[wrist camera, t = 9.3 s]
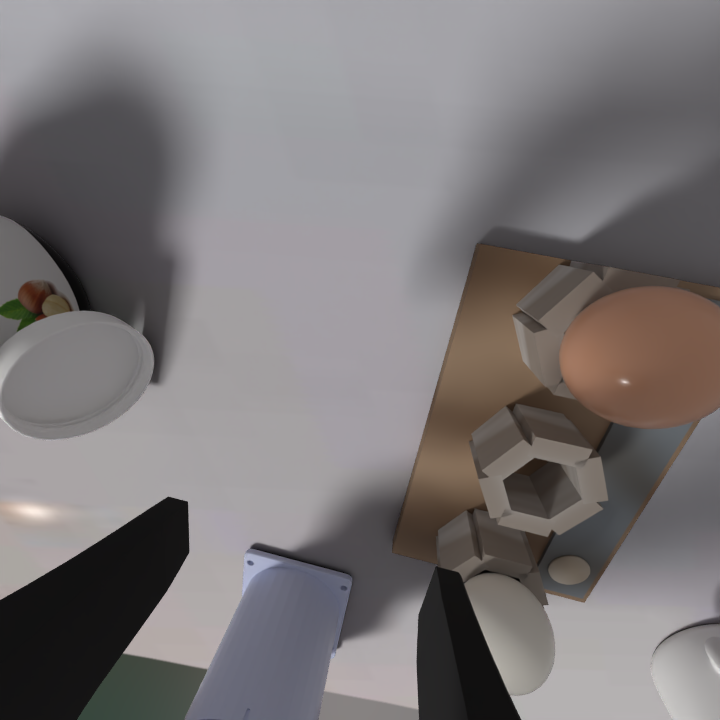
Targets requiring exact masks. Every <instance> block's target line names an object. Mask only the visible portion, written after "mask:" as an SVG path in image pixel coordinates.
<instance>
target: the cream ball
mask: <svg viewBox="0 0 720 720" xmlns="http://www.w3.org/2000/svg"><path fill="white" fill-rule="evenodd" d="M464 585H465V588H466V591H467V593H468V596H469V599H470V602H471V604H472V607H473V609H474V612H475V615H476V617H477V620H478V622H479V625H480V627H481V630H482V632H483V635H484V637H485V640H486V642H487V645H488V647H489V649H490V652H491V654H492V656H493V659H494V661H495V663H496V666H497V668H498V670H499V672H500V675H501V677H502V679H503V682H504V684H505V686H506V688H507V691H508V693H509V695H513V696H518V695H525V694H529V693H531V692H533V691H535V690H536V689H538V688H539V687H540V686H542V684H543V683H544V682H545V681H546V680H547V678H548V676H549V674H550V672H551V670H552V667H553V664H554V658H555V640H554V634H553V629H552V626H551V623H550V620H549V618H548V616H547V613H546V612H545V610H544V608H543V606H542V605H541V603H540V602H539V601H538V599H537V598H536V597H535V596H534V594H533V593H532V592H531V591H530V590H529V589H528V588H526V587H525V586H524V585H523V584H521V583H520V582H519V581H517V580H515V579H513V578H511V577H509V576H506V575H503V574H499V573H482V574H479V575H476V576H474V577H472V578H470V579H469V580H468V581H467V582H465V583H464Z"/></svg>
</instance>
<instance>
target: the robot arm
mask: <svg viewBox="0 0 720 720" xmlns="http://www.w3.org/2000/svg"><path fill="white" fill-rule="evenodd" d="M188 554H189V522H188V502H187V501H183V500H179V499H175V498H171V497H167V498H165V499H164V500H162V501H161V502H159V503H158V504H156V505H154V506H153V507H151V508H150V509H148V510H147V511H145V512H144V513H142V514H141V515H139V516H138V517H136V518H135V519H133V520H131V521H130V522H128V523H127V524H125V525H124V526H122V527H121V528H119V529H118V530H116V531H115V532H113V533H111V534H110V535H108V536H107V537H105V538H104V539H102V540H100V541H99V542H97V543H96V544H94V545H92V546H91V547H89V548H88V549H86V550H85V551H83V552H81V553H80V554H78V555H77V556H75V557H73V558H72V559H70V560H68V561H67V562H65V563H63V564H62V565H60V566H58V567H57V568H55V569H53V570H52V571H50V572H48V573H46V574H45V575H43V576H41V577H40V578H38V579H36V580H35V581H33V582H31V583H30V584H28V585H26V586H24V587H23V588H21V589H19V590H17V591H16V592H14V593H12V594H10V595H8V596H7V597H5V598H3V599H1V600H0V720H77V719H78V717H79V715H80V714H81V712H82V711H83V709H84V707H85V706H86V705H87V703H88V702H89V700H90V699H91V697H92V696H93V694H94V693H95V691H96V689H97V688H98V687H99V685H100V684H101V683H102V681H103V680H104V678H105V677H106V676H107V674H108V673H109V672H110V670H111V669H112V667H113V666H114V664H115V663H116V662H117V660H118V659H119V658H120V656H121V655H122V653H123V652H124V651H125V649H126V648H127V646H128V645H129V644H130V642H131V641H132V639H133V638H134V637H135V635H136V634H137V633H138V631H139V630H140V628H141V627H142V626H143V624H144V623H145V621H146V620H147V619H148V617H149V616H150V614H151V613H152V611H153V610H154V609H155V607H156V606H157V604H158V603H159V602H160V600H161V599H162V597H163V596H164V594H165V593H166V592H167V590H168V588H169V587H170V585H171V583H172V582H173V580H174V578H175V577H176V575H177V573H178V571H179V570H180V568H181V566H182V564H183V562H184V561H185V559H186V557H187V555H188ZM351 586H352V577H351V576H350V575H348V574H345V573H341V572H338V571H334V570H330V569H326V568H323V567H319V566H315V565H311V564H308V563H304V562H300V561H296V560H293V559H289V558H285V557H281V556H278V555H274V554H270V553H266V552H263V551H259V550H255V549H248V550H247V551H246V553H245V556H244V572H243V589H242V599H241V601H240V603H239V605H238V607H237V609H236V611H235V614H234V616H233V618H232V620H231V622H230V624H229V626H228V628H227V630H226V633H225V635H224V637H223V639H222V641H221V643H220V645H219V647H218V649H217V652H216V654H215V656H214V658H213V660H212V662H211V664H210V666H209V668H208V671H207V673H206V675H205V677H204V679H203V681H202V683H201V685H200V688H199V689H198V692H197V694H196V696H195V698H194V700H193V702H192V704H191V706H190V708H189V711H188V713H187V715H186V717H185V719H184V720H318V719H319V714H320V709H321V704H322V698H323V694H324V689H325V684H326V679H327V674H328V668H329V663H330V659H331V658H334V657H335V653H336V649H337V645H338V641H339V637H340V632H341V628H342V624H343V620H344V615H345V611H346V607H347V603H348V599H349V594H350V590H351ZM417 683H418V705H419V720H521V718H520V716H519V714H518V712H517V710H516V708H515V706H514V704H513V701H512V699H511V697H510V695H509V693H508V691H507V688H506V686H505V684H504V682H503V679H502V677H501V675H500V672H499V670H498V668H497V666H496V663H495V661H494V659H493V656H492V654H491V652H490V649H489V647H488V645H487V642H486V640H485V637H484V635H483V632H482V630H481V627H480V625H479V622H478V620H477V617H476V615H475V612H474V609H473V607H472V604H471V602H470V599H469V596H468V593H467V591H466V588H465V585H464V582H463V579H462V577H461V575H460V573H459V572H456V571H452V570H448V569H444V568H441V567H437V566H436V568H435V571H434V574H433V576H432V579H431V582H430V585H429V587H428V590H427V593H426V596H425V598H424V601H423V604H422V607H421V609H420V612H419V617H418V638H417Z"/></svg>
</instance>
